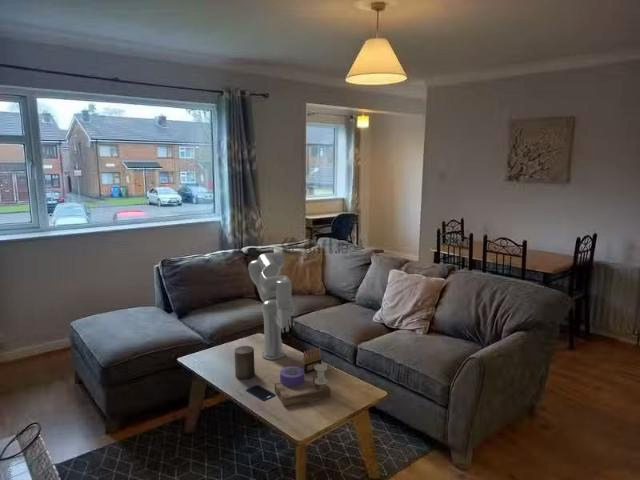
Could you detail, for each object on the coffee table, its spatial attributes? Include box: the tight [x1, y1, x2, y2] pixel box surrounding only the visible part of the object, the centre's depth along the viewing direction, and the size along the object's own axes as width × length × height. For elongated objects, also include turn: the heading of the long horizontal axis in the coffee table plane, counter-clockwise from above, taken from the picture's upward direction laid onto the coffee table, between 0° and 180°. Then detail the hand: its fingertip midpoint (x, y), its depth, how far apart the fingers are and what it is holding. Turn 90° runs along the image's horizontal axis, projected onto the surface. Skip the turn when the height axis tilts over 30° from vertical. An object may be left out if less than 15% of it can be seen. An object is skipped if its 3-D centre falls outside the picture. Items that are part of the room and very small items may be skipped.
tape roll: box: [279, 366, 305, 388], centre depth 226 cm, size 12×12×5 cm
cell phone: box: [245, 384, 277, 402], centre depth 215 cm, size 7×14×1 cm, turn 46°
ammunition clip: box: [302, 346, 322, 375], centre depth 236 cm, size 11×2×12 cm, turn 125°
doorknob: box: [314, 363, 328, 385], centre depth 216 cm, size 6×6×8 cm
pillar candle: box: [233, 345, 256, 380], centre depth 231 cm, size 10×10×15 cm
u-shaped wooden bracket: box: [274, 375, 331, 408], centre depth 213 cm, size 14×22×4 cm, turn 112°
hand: (284, 339), depth 234 cm, fingers closed
